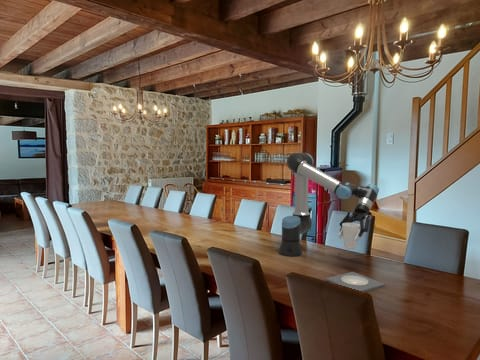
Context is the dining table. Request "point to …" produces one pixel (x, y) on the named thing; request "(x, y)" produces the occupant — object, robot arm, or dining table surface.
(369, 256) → the dining table surface
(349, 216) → the robot arm
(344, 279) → the grey square plate
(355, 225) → the foam cup
